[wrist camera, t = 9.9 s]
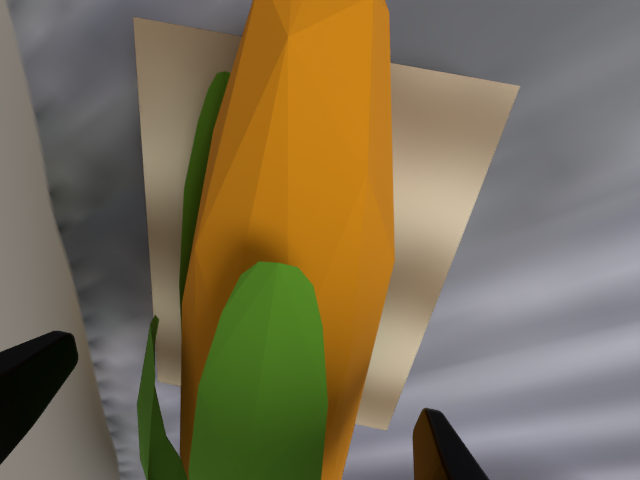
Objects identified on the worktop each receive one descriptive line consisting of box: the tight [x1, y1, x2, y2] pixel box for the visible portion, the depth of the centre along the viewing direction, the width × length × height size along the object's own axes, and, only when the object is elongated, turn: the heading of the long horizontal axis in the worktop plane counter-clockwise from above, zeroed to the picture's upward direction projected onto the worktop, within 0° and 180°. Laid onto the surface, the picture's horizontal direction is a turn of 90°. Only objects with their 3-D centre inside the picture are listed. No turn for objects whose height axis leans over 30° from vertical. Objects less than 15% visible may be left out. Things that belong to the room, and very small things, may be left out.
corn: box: [137, 0, 395, 480], centre depth 10 cm, size 7×8×20 cm
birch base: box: [133, 17, 520, 430], centre depth 15 cm, size 16×12×3 cm
